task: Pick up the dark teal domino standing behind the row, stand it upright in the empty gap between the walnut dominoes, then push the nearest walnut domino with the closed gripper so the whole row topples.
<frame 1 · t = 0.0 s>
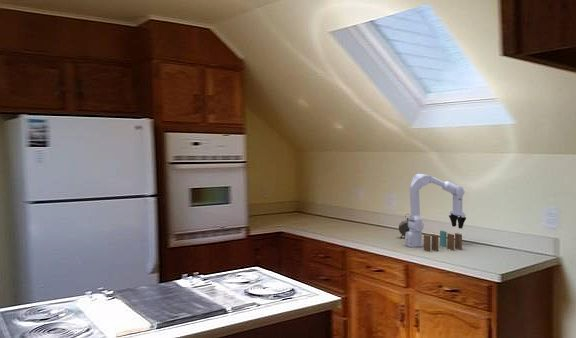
hand: (457, 227, 312), 10 cm above the worktop, tool pointing down, fingers open, 7 cm apart
alarm clock: (407, 238, 332), on the worktop
domino 5: (458, 249, 297), on the worktop
domino 4: (450, 249, 296), on the worktop
domino 1: (427, 250, 293), on the worktop
teal domino: (443, 245, 306), on the worktop
domino 2: (434, 250, 294), on the worktop
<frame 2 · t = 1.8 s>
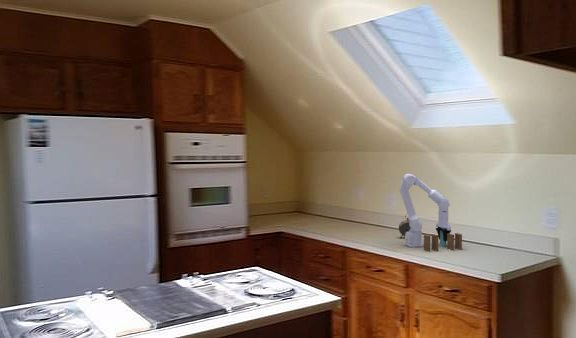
hand: (443, 240, 306), 3 cm above the worktop, tool pointing down, fingers closed on teal domino, 5 cm apart
teal domino: (443, 245, 306), on the worktop, touching gripper
everything else where it was.
when the fingers open (4 cm above the worktop, at t = 7.2 s): teal domino stays where it is, on the worktop.
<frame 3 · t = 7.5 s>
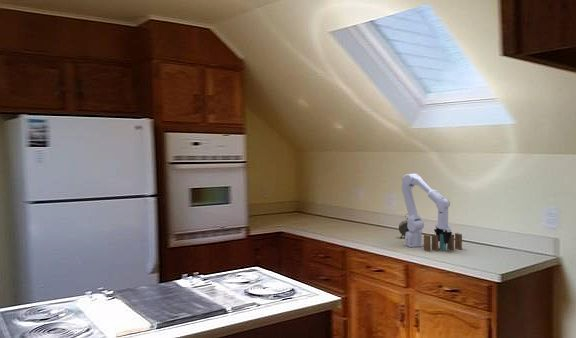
hand: (442, 242, 294), 4 cm above the worktop, tool pointing down, fingers open, 7 cm apart
teal domino: (442, 249, 295), on the worktop
everything else where it was.
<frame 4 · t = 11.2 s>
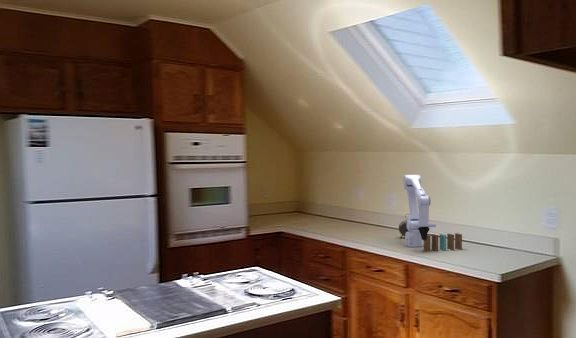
hand: (423, 239, 292), 6 cm above the worktop, tool pointing down, fingers closed
domino 1: (427, 250, 293), on the worktop, touching gripper
everything else where it was.
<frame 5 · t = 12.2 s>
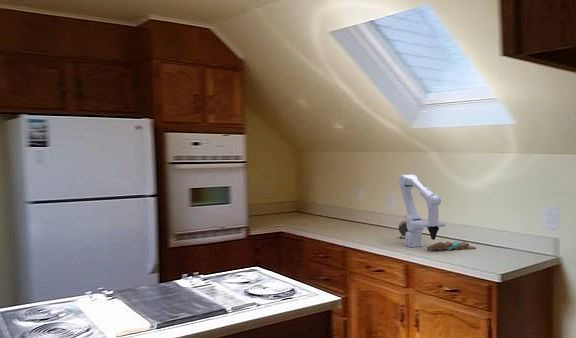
hand: (433, 239, 293), 6 cm above the worktop, tool pointing down, fingers closed
domino 5: (459, 248, 297), on the worktop, tilted 90°
domino 4: (453, 247, 296), point 1 cm above the worktop, tilted 78°, touching teal domino
domino 1: (429, 249, 293), point 1 cm above the worktop, tilted 72°, touching domino 2
teal domino: (445, 248, 295), point 1 cm above the worktop, tilted 72°, touching domino 2, domino 4
domino 2: (436, 248, 294), point 1 cm above the worktop, tilted 72°, touching domino 1, teal domino
everything else where it was.
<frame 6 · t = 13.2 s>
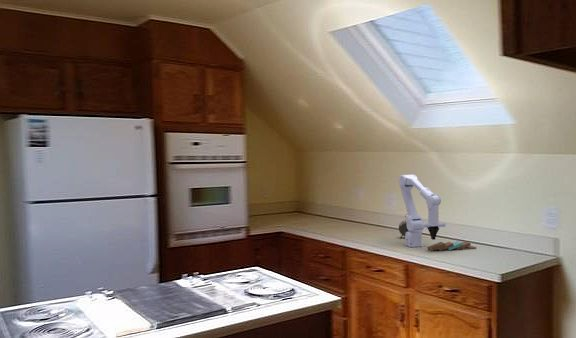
hand: (433, 239, 293), 6 cm above the worktop, tool pointing down, fingers closed
domino 5: (460, 248, 297), on the worktop, tilted 90°, touching domino 4
domino 4: (454, 247, 296), point 1 cm above the worktop, tilted 76°, touching domino 5, teal domino
domino 1: (429, 249, 293), point 1 cm above the worktop, tilted 72°, touching domino 2
teal domino: (446, 248, 295), point 1 cm above the worktop, tilted 72°, touching domino 4
domino 2: (437, 248, 294), point 1 cm above the worktop, tilted 73°, touching domino 1
everything else where it was.
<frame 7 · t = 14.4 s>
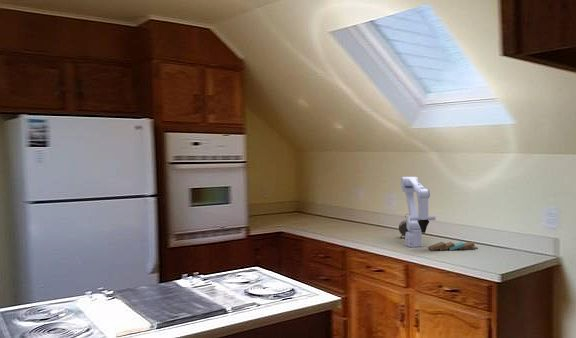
hand: (423, 232, 293), 10 cm above the worktop, tool pointing down, fingers closed
domino 4: (458, 247, 296), point 1 cm above the worktop, tilted 76°, touching domino 5, teal domino
domino 1: (429, 248, 294), point 1 cm above the worktop, tilted 73°, touching domino 2
teal domino: (448, 248, 295), point 1 cm above the worktop, tilted 74°, touching domino 2, domino 4
domino 2: (438, 248, 294), point 1 cm above the worktop, tilted 73°, touching domino 1, teal domino
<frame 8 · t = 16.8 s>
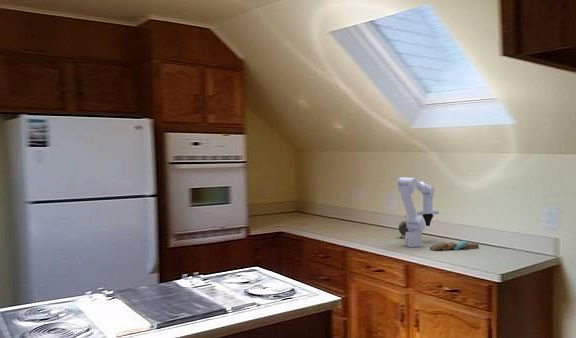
hand: (427, 225, 317), 10 cm above the worktop, tool pointing down, fingers closed
domino 5: (462, 248, 298), on the worktop, tilted 90°, touching domino 4
domino 4: (462, 245, 298), point 2 cm above the worktop, tilted 90°, touching domino 5
domino 1: (432, 248, 293), point 1 cm above the worktop, tilted 74°, touching domino 2
teal domino: (452, 248, 295), point 1 cm above the worktop, tilted 71°, touching domino 2
domino 2: (440, 248, 294), point 1 cm above the worktop, tilted 75°, touching domino 1, teal domino
everything else where it was.
at the end: domino 5 tilted 90°; teal domino tilted 71°; teal domino inside the target area (2.4 cm from its centre), point 0.7 cm above the worktop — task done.
